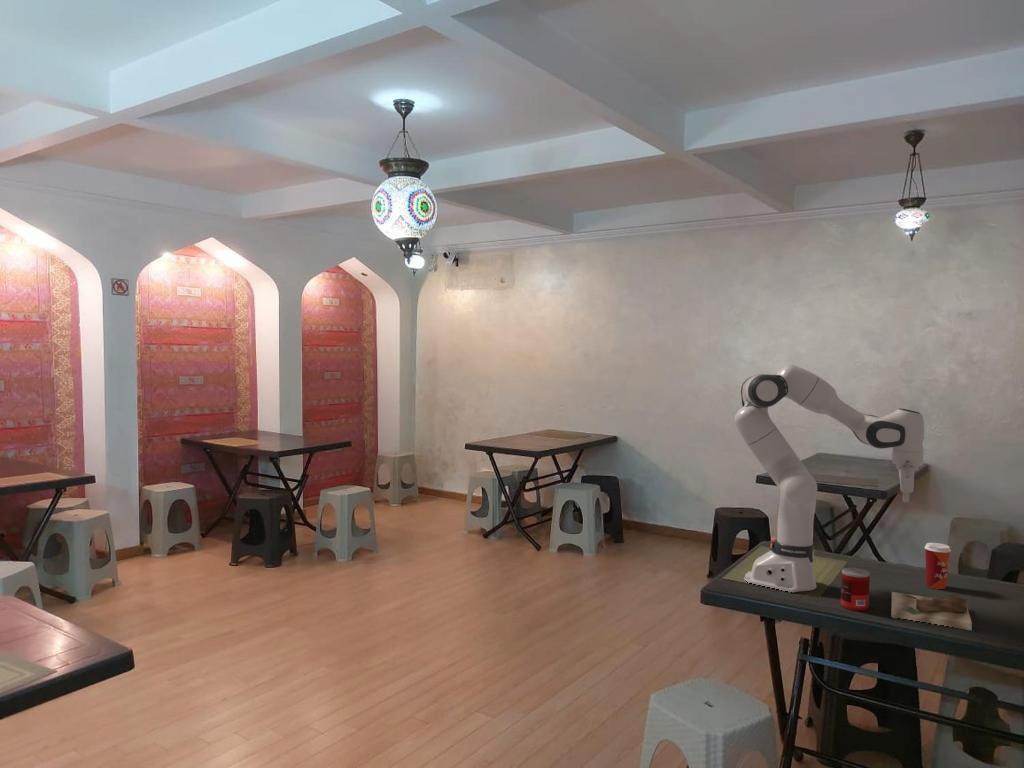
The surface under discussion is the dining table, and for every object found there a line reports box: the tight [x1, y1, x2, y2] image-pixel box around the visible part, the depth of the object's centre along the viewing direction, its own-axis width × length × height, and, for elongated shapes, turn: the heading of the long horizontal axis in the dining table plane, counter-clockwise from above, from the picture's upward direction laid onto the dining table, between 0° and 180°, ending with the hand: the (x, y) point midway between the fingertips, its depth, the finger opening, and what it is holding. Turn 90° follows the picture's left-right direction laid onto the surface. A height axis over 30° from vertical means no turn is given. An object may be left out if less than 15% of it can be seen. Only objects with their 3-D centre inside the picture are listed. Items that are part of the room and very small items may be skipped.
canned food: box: [840, 567, 871, 612], centre depth 224 cm, size 8×8×11 cm
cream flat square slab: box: [890, 591, 973, 631], centre depth 219 cm, size 20×19×2 cm
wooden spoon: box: [916, 594, 968, 612], centre depth 215 cm, size 14×5×4 cm, turn 95°
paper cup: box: [924, 542, 952, 590], centre depth 243 cm, size 8×8×14 cm
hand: (905, 501), depth 238 cm, fingers closed
